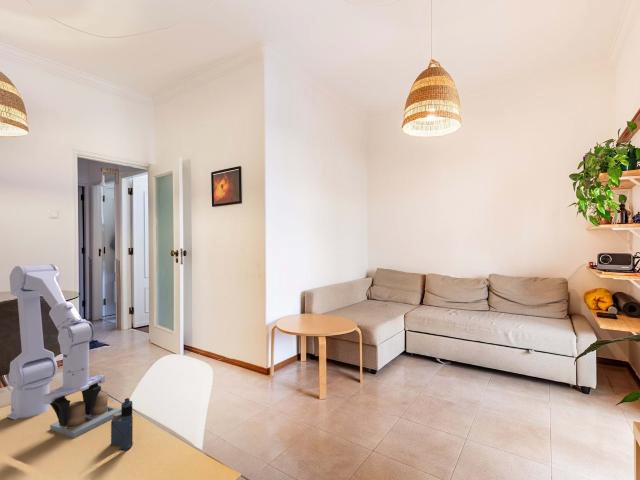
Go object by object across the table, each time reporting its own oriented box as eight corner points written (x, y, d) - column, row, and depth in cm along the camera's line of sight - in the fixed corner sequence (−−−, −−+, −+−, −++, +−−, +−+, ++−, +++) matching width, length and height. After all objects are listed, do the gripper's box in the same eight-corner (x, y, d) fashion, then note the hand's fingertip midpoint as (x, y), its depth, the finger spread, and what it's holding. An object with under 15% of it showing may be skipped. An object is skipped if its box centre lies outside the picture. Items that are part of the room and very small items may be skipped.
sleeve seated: (86, 417, 94) (87, 395, 94) (101, 410, 98) (102, 390, 98) (96, 420, 92) (97, 398, 93) (111, 413, 96) (112, 392, 96)
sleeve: (62, 429, 88) (62, 406, 88) (79, 421, 92) (79, 399, 92) (72, 432, 87) (72, 409, 87) (89, 424, 90) (89, 402, 91)
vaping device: (127, 451, 80) (127, 402, 80) (108, 449, 81) (108, 400, 81) (135, 445, 83) (135, 397, 83) (117, 443, 84) (117, 395, 84)
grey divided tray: (50, 433, 88) (50, 424, 88) (98, 410, 100) (99, 403, 100) (74, 441, 84) (74, 432, 84) (121, 417, 96) (121, 409, 96)
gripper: (55, 380, 81) (54, 436, 81) (112, 361, 95) (111, 409, 94) (38, 376, 84) (37, 430, 84) (95, 358, 97) (95, 404, 97)
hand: (75, 419), depth 89 cm, fingers open, 6 cm apart
